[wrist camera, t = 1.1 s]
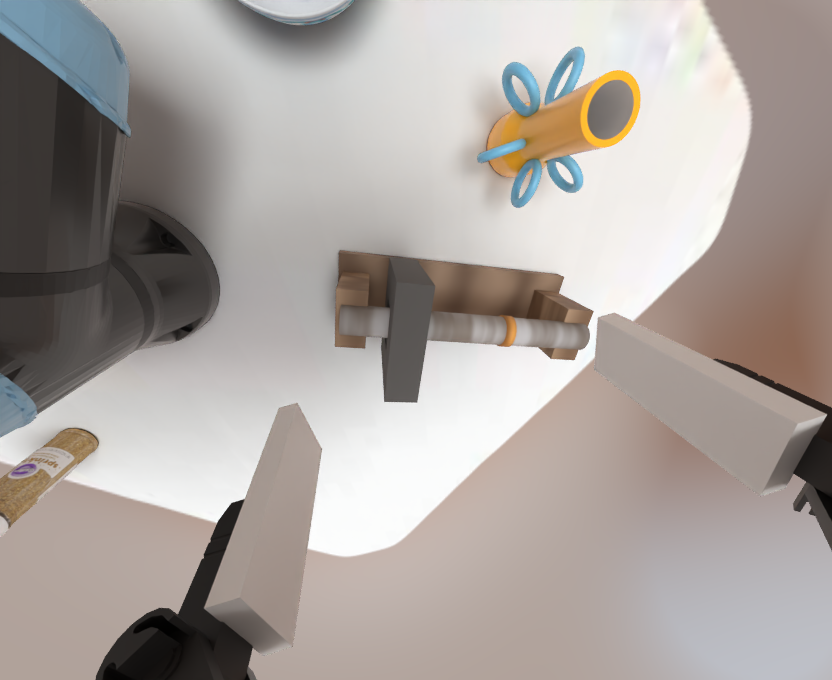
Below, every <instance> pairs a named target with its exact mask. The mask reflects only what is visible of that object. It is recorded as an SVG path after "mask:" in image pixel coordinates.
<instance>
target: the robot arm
mask: <svg viewBox="0 0 832 680" xmlns="http://www.w3.org/2000/svg"><path fill="white" fill-rule="evenodd" d="M129 78H130V71H129V65H128V61H127V58H126V56H125V54H124V52H123V50H122V48H121V46H120V44H119V43H118V41H117V40H116V38H115V37H114V35H113V34H112V33H111V32H110V30H109V29H108V28H107V27H106V26H105V25H104V24H103V23H102V22H101V21H100V20H99V18H98V17H97V16H95V15H94V14H93V13H92V12H91V11H90V10H89V9H88V8H87V7H86V6H85V5H84V4H83V3H81V2H80V1H79V0H0V437H2V436H4V435H6V434H8V433H9V432H11V431H13V430H15V429H17V428H20V427H23V426H25V425H27V424H29V423H30V422H32V421H33V420H34V419H35V418H36V417H35V416H36V415H37V414H39V413H40V412H42V411H43V410H45V409H46V408H48V407H50V406H51V405H53V404H54V403H56V402H57V401H59V400H60V399H62V398H63V397H65V396H66V395H68V394H69V393H71V392H73V391H74V390H76V389H77V388H79V387H80V386H82V385H83V384H85V383H86V382H88V381H89V380H91V379H92V378H94V377H96V376H97V375H99V374H100V373H102V372H103V371H105V370H106V369H108V368H109V367H111V366H112V365H114V364H115V363H117V362H119V361H120V360H122V359H123V358H125V357H126V356H127V355H129V354H131V353H132V352H134V351H135V350H140V349H145V348H150V347H154V346H159V345H164V344H169V343H173V342H176V341H179V340H181V339H184V338H186V337H188V336H189V335H191V334H192V333H194V332H195V331H196V330H198V329H199V328H200V327H202V326H203V325H204V324H205V323H206V322H207V321H208V320H209V319H210V318H211V316H212V315H213V313H214V311H215V309H216V307H217V304H218V300H219V281H218V276H217V272H216V269H215V267H214V264H213V262H212V260H211V258H210V256H209V255H208V253H207V251H206V250H205V249H204V247H203V246H202V245H201V243H200V242H199V241H198V240H197V239H196V237H195V236H194V235H193V234H192V233H191V232H189V231H188V230H187V229H186V228H185V227H184V226H182V225H181V224H180V223H178V222H177V221H176V220H174V219H172V218H171V217H169V216H167V215H166V214H164V213H162V212H160V211H158V210H156V209H153V208H151V207H148V206H145V205H142V204H138V203H134V202H128V201H119V193H120V185H121V178H122V170H123V162H124V154H125V146H126V138H127V137H131V129H130V126H129V125H128V123H127V114H128V96H129ZM594 370H595V371H596V372H598V373H599V374H601V375H602V376H603V377H604V378H606V379H607V380H608V381H610V382H611V383H612V384H614V385H615V386H616V387H618V388H619V389H620V390H621V391H623V392H624V393H625V394H627V395H628V396H629V397H631V398H632V399H633V400H635V401H636V402H637V403H638V404H640V405H641V406H642V407H644V408H645V409H646V410H648V411H649V412H650V413H651V414H653V415H654V416H655V417H657V418H658V419H659V420H661V421H662V422H663V423H665V424H666V425H667V426H668V427H670V428H671V429H672V430H674V431H675V432H676V433H678V434H679V435H680V436H681V437H683V438H684V439H685V440H687V441H688V442H689V443H691V444H692V445H693V446H694V447H696V448H697V449H699V450H700V451H701V452H702V453H704V454H705V455H706V456H708V457H709V458H710V459H712V460H713V461H714V462H715V463H717V464H718V465H719V466H721V467H722V468H723V469H725V470H726V471H727V472H729V473H730V474H731V475H732V476H734V477H735V478H736V479H738V480H739V481H740V482H742V483H743V484H744V485H746V486H747V487H748V488H749V489H751V490H752V491H753V492H755V493H756V494H757V495H759V496H764V495H767V494H770V493H772V492H776V491H779V490H782V489H785V488H786V486H787V484H788V483H789V481H790V479H791V477H792V476H793V474H795V475H797V476H798V477H800V478H802V479H803V480H805V481H806V483H805V485H804V487H803V488H802V490H801V492H800V493H799V495H798V496H797V498H796V500H795V501H794V503H793V506H794V510H795V511H798V512H800V511H801V510H802V508H803V506H804V505H805V504H806V502H809V504H810V506H811V510H810V512H809V514H810V515H814V516H816V518H817V520H818V522H819V525H820V527H821V529H822V531H823V533H824V535H825V537H826V539H827V541H828V544H829V546H830V548H831V550H832V408H831V407H829V406H827V405H825V404H822V403H820V402H818V401H816V400H814V399H811V398H809V397H807V396H805V395H803V394H801V393H799V392H796V391H794V390H792V389H790V388H788V387H785V386H783V385H781V384H779V383H777V384H775V383H774V381H772V380H770V379H768V378H766V377H764V376H758V374H757V373H755V372H753V371H751V370H749V369H746V368H744V367H742V366H740V365H737V364H734V363H729V362H726V361H723V360H718V359H713V360H712V359H710V358H708V357H706V356H704V355H702V354H700V353H698V352H695V351H693V350H691V349H689V348H687V347H685V346H683V345H681V344H679V343H677V342H675V341H673V340H670V339H668V338H666V337H664V336H662V335H660V334H658V333H656V332H653V331H652V330H650V329H647V328H645V327H643V326H641V325H639V324H637V323H635V322H633V321H631V320H629V319H627V318H625V317H623V316H620V315H618V314H616V313H612V314H608V315H605V316H601V317H598V324H597V338H596V351H595V365H594ZM321 452H322V448H321V447H320V445H319V443H318V441H317V439H316V437H315V435H314V433H313V431H312V430H311V428H310V426H309V424H308V422H307V420H306V418H305V416H304V414H303V413H302V411H301V409H300V407H299V405H298V403H295V404H292V405H288V406H285V407H281V408H279V409H278V412H277V415H276V417H275V420H274V423H273V425H272V428H271V431H270V433H269V436H268V439H267V441H266V444H265V447H264V449H263V452H262V455H261V457H260V460H259V463H258V465H257V468H256V471H255V473H254V476H253V479H252V481H251V484H250V487H249V489H248V492H247V495H246V497H245V499H244V500H240V501H237V502H233V503H231V505H230V506H229V507H228V509H227V510H226V511H225V513H224V514H223V515H222V517H221V518H220V519H219V521H218V523H217V525H216V527H215V530H214V532H213V535H212V537H211V542H210V543H209V544H208V546H207V548H206V551H205V553H204V559H202V560H201V562H200V565H199V567H198V569H197V572H196V574H195V577H194V579H193V581H192V583H191V586H190V588H189V590H188V593H187V595H186V597H185V600H184V602H183V604H182V607H181V609H180V611H179V614H176V613H175V612H173V611H172V610H171V609H169V608H158V609H156V610H154V611H151V612H149V613H147V614H145V615H144V616H143V617H141V618H140V619H138V620H137V621H136V622H134V623H133V624H132V625H131V626H130V627H129V628H128V629H127V630H126V631H125V632H124V633H123V634H122V635H121V636H120V637H119V638H118V639H117V641H116V642H115V644H114V645H113V646H112V648H111V649H110V651H109V652H108V654H107V655H106V656H105V658H104V660H103V663H102V664H101V666H100V669H99V671H98V673H97V675H96V680H256V677H255V675H254V673H253V671H252V670H251V669H250V668H249V667H248V665H249V661H250V657H251V652H252V648H254V649H255V650H256V651H258V652H259V653H260V654H261V655H262V656H265V655H268V654H272V653H275V652H278V651H281V650H284V649H287V648H290V647H293V640H294V634H295V628H296V621H297V614H298V608H299V601H300V594H301V587H302V581H303V573H304V567H305V560H306V553H307V547H308V540H309V533H310V527H311V520H312V513H313V506H314V500H315V493H316V486H317V479H318V473H319V466H320V459H321Z"/></svg>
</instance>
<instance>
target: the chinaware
mask: <svg viewBox="0 0 832 680" xmlns="http://www.w3.org/2000/svg"><path fill="white" fill-rule="evenodd" d="M238 1H239V2H240V3H242V4H243V5H245V6H246V7H248V8H250V9H251V10H253V11H255V12H257V13H259V14H261V15H263V16H265V17H267V18H270V19H272V20H275V21H278V22H282V23H286V24H292V25H312V24H317V23H321V22H324V21H327V20H329V19H331V18H333V17H335V16H337V15H338V14H340V13H341V12H343V11H344V10H345V9H346V8H348V7H349V6H350V5H351V4H352V3H353V2H354V1H355V0H238Z"/></svg>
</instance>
